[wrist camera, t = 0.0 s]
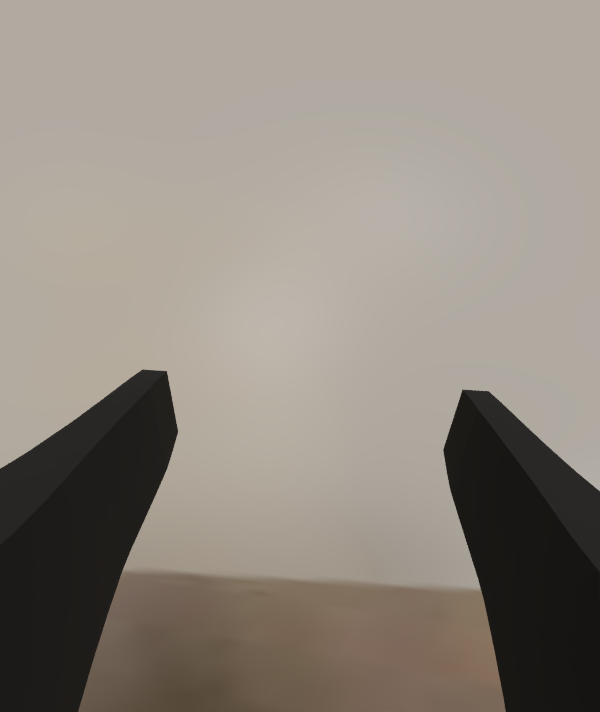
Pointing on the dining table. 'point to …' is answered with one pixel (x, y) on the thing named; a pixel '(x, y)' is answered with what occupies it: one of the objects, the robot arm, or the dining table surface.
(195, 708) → the dining table surface
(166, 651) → the dining table surface
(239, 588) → the dining table surface
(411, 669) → the dining table surface
